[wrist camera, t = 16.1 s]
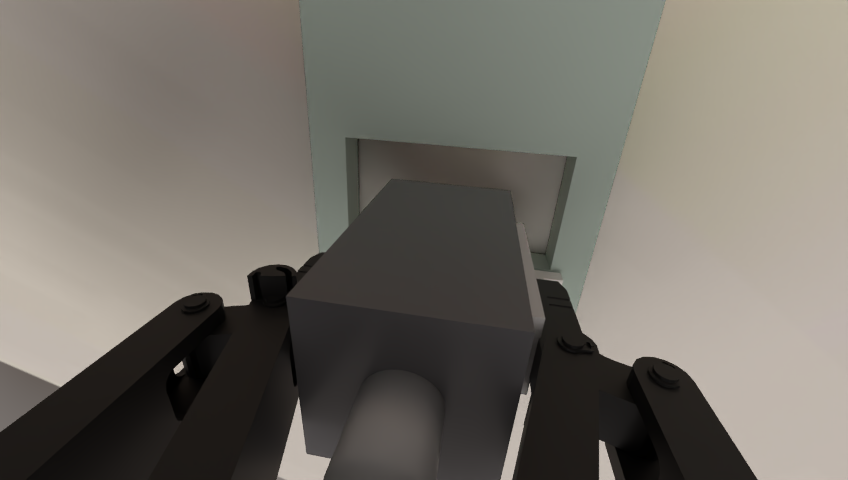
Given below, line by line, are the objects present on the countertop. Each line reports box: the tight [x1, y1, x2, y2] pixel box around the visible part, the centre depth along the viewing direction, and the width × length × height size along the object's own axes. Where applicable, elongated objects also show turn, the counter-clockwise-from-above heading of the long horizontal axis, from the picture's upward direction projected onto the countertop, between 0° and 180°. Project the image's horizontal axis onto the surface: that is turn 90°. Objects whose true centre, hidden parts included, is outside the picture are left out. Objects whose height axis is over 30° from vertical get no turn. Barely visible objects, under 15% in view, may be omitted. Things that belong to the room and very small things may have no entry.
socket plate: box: [299, 0, 666, 313], centre depth 21 cm, size 21×16×2 cm
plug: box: [286, 179, 535, 480], centre depth 11 cm, size 5×5×11 cm
